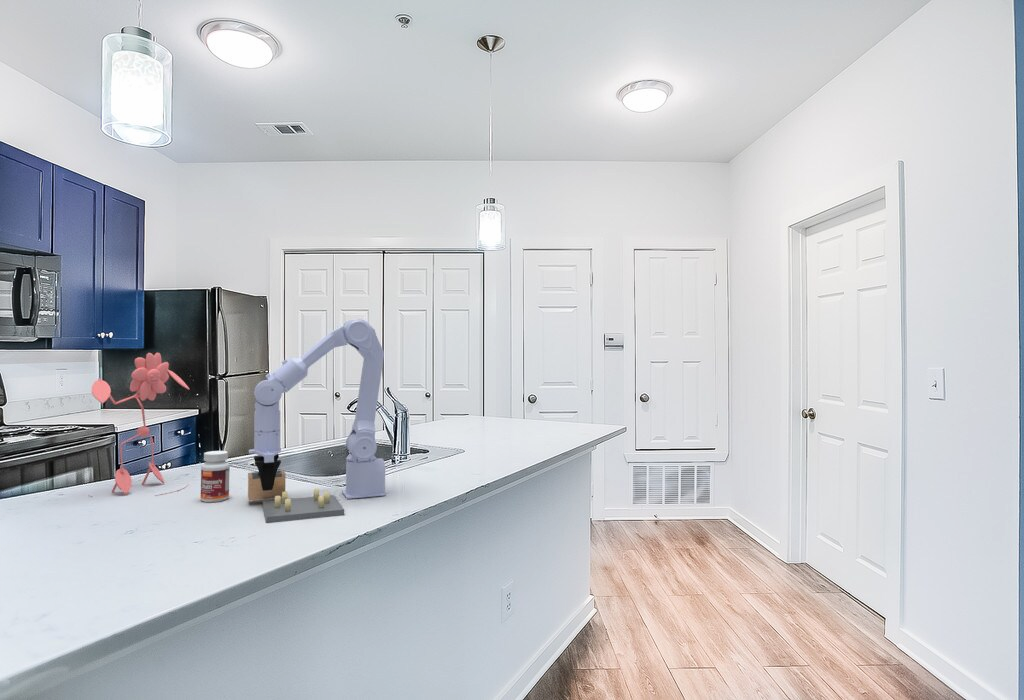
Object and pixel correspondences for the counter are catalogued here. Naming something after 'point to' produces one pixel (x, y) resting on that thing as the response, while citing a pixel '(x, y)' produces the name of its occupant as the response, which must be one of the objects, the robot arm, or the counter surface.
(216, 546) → the counter surface
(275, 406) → the robot arm
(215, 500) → the pill bottle
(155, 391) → the figurine
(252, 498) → the tan wooden block
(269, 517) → the grey peg board
